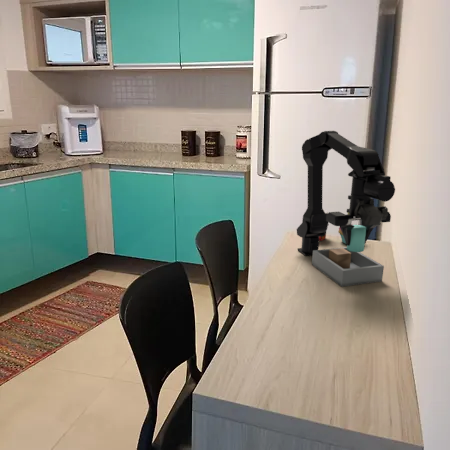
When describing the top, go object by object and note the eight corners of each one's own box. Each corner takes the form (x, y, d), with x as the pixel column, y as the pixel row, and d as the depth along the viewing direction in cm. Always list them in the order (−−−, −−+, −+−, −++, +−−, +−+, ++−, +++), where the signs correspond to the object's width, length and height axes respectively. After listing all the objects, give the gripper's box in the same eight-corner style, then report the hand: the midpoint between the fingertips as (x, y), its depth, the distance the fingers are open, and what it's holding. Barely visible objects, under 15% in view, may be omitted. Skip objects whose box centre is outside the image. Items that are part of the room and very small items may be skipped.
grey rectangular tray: (311, 264, 146) (312, 250, 145) (348, 260, 151) (350, 246, 149) (341, 286, 130) (343, 270, 129) (382, 281, 134) (383, 265, 133)
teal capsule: (353, 252, 131) (355, 230, 129) (343, 247, 135) (345, 225, 134) (367, 251, 133) (369, 228, 131) (357, 246, 137) (359, 224, 135)
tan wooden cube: (336, 269, 141) (337, 254, 139) (328, 263, 145) (329, 249, 144) (349, 267, 142) (351, 253, 141) (341, 262, 147) (342, 248, 145)
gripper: (348, 202, 119) (343, 256, 124) (406, 198, 124) (399, 250, 129) (327, 193, 129) (323, 243, 134) (381, 190, 135) (375, 238, 139)
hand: (355, 244), depth 134 cm, fingers closed on teal capsule, 5 cm apart
